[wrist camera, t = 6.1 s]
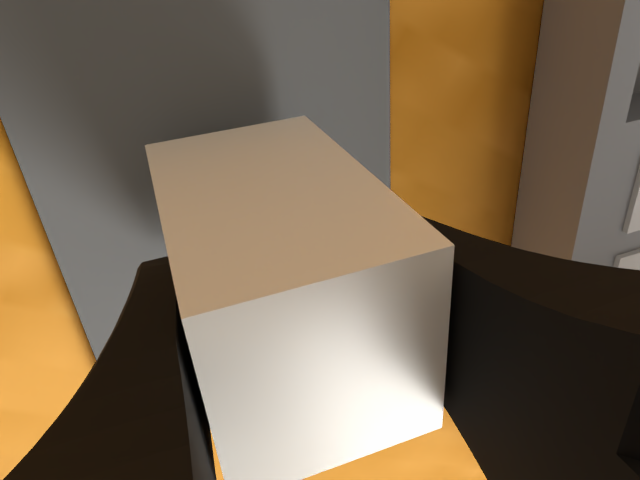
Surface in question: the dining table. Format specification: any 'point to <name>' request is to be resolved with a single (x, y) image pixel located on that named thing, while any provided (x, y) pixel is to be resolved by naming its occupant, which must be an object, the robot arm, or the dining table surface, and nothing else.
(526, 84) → the dining table surface
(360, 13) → the rubber mat
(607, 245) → the power strip
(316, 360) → the plug
